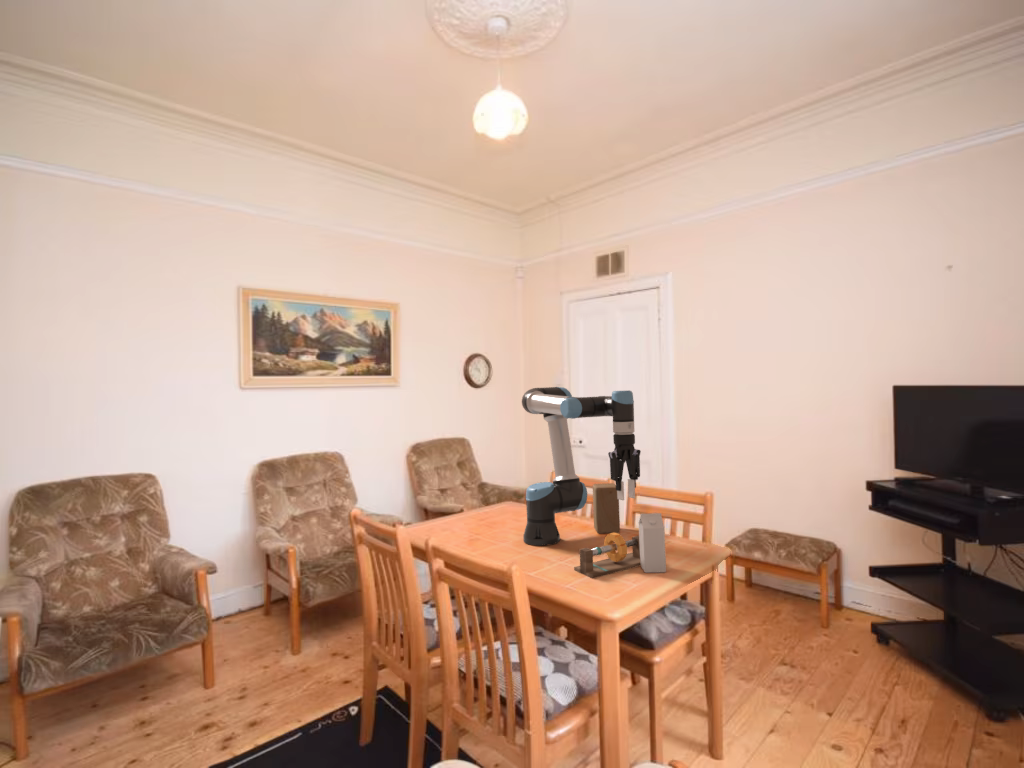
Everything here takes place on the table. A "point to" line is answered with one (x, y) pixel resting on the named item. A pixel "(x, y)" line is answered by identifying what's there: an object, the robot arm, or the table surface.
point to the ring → (620, 546)
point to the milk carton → (652, 543)
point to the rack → (607, 562)
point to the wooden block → (606, 508)
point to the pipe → (612, 547)
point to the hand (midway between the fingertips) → (626, 498)
